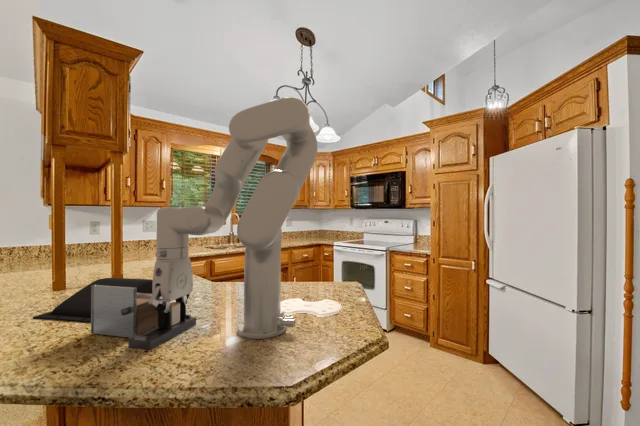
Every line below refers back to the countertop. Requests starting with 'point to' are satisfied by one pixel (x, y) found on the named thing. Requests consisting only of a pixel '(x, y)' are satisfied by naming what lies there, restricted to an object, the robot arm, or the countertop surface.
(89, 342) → the countertop surface
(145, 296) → the wooden block
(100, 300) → the door
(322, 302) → the white bone shape
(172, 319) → the fader knob
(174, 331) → the fader strip
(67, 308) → the black piece
